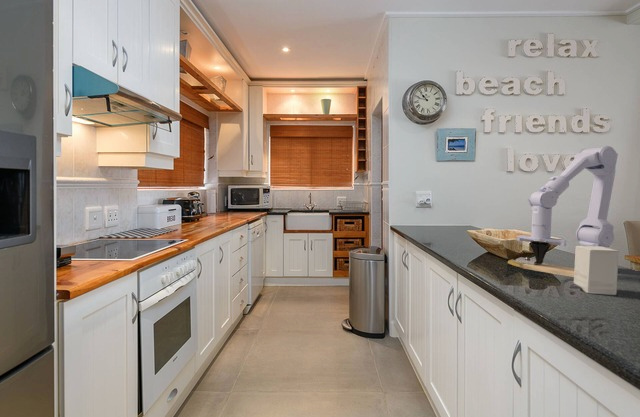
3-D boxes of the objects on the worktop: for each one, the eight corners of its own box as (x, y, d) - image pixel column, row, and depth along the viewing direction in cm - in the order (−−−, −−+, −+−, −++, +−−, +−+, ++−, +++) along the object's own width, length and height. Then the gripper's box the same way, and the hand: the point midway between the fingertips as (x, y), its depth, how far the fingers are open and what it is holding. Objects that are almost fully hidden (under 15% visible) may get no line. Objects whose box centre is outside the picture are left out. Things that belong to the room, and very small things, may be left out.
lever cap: (520, 259, 123) (520, 255, 123) (539, 262, 118) (539, 258, 118) (515, 261, 120) (515, 257, 120) (534, 264, 115) (534, 260, 115)
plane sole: (526, 267, 123) (526, 260, 122) (583, 277, 109) (584, 269, 109) (519, 270, 118) (519, 263, 118) (578, 280, 105) (578, 273, 105)
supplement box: (617, 295, 91) (620, 250, 90) (587, 293, 92) (589, 249, 92) (600, 287, 98) (602, 245, 97) (572, 286, 100) (574, 245, 99)
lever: (525, 266, 121) (511, 261, 125) (526, 264, 121) (512, 259, 125) (521, 268, 119) (507, 263, 122) (522, 265, 119) (508, 260, 122)
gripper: (514, 224, 118) (512, 261, 119) (562, 228, 107) (560, 269, 108) (521, 223, 123) (520, 258, 124) (568, 226, 112) (566, 265, 112)
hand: (539, 263), depth 116 cm, fingers closed
